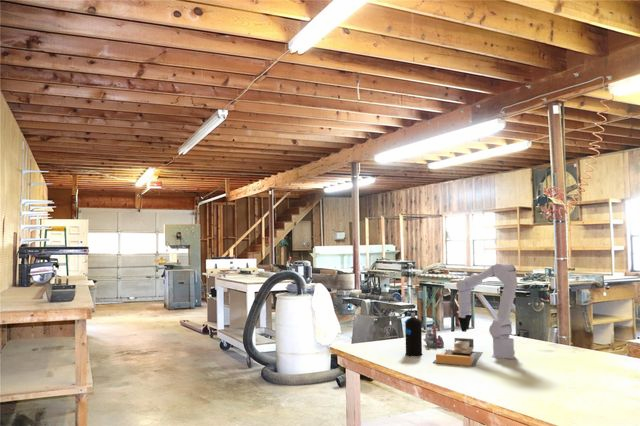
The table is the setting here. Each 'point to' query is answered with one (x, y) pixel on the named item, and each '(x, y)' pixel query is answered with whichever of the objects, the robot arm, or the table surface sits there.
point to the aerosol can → (413, 336)
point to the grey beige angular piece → (463, 346)
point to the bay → (458, 358)
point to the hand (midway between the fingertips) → (465, 330)
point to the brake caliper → (433, 339)
